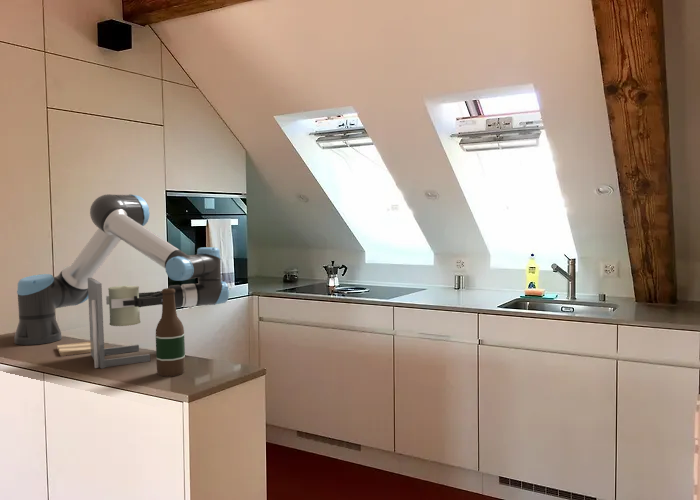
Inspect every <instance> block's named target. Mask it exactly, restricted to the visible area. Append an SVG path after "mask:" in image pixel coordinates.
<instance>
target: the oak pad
mask: <svg viewBox="0 0 700 500" xmlns="http://www.w3.org/2000/svg"><path fill="white" fill-rule="evenodd" d="M56 348H57V352H58V353H59V355H60V357H65V356H66V355H67V356H74V355H73V354H75V355H82V354H89V353H90V354H91V345H90V341H84V342H81V341H80V342H73V343H66V344H65V343H64V344H57V345H56Z"/></svg>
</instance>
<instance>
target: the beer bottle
mask: <svg viewBox="0 0 700 500" xmlns="http://www.w3.org/2000/svg"><path fill="white" fill-rule="evenodd" d="M161 291H162V294H163V301H162V305H161V306H162V308H161V309H162V311H161V318H160V319H159V321H158V323H157V325H156V328H155V354H156V358H155V359H156V370H157V371H156V373H157V375H158V376H161V377H165V378H166V377H176V376H180V375H183V374H184V373H185V372H186V349H185V348H186V347H185V345H186V344H185V328H184V325H183V323H182V321H181V319H180V318H179V317H178V313H177V308H176V305H175V295H174V293H175V289H173V288H168V287H166V288H163V289H161Z"/></svg>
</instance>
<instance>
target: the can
mask: <svg viewBox="0 0 700 500" xmlns="http://www.w3.org/2000/svg"><path fill="white" fill-rule="evenodd" d="M107 290H108V296H109V307H108V309H109V325H110V326H112V327H127V326H135V325H139V324H141V317H140V307H138V306H137V307H135V306H134V307H123V308H111V299H123V298H134V296H137V298H139V293H140V287H139V286H138V285H116V286H111V287H108V288H107Z"/></svg>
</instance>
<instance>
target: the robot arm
mask: <svg viewBox="0 0 700 500" xmlns="http://www.w3.org/2000/svg"><path fill="white" fill-rule="evenodd" d="M89 216H90V219H91V221H92V223H93V224H94V225H95V226H96V227H97V230H96V231H95V232H94V234H93V235H92V236H91V238H90V239H89V241H88V242H87V243H86V245H85V246H84V248H83V249H82V250H81V251H80V253H79V254H78V255H77V257H76V258H75V260H74V261H72V263H71V265H67V266H65V267H63V268H62V270H61V271H60V272H59V273H58V275H56V276H54V275H53V274H50V273H43V274H37V275H36V274H35V275H29V276H25V277H22V278H21V279H19V280H18V282H17V290H16V294H17V305H18V307H17V308H18V324H17V327H16V330H15V334H14V340H13V341H14V344H15V345H20V346H29V345H30V346H32V345H43V344H49V343H53V342H54V343H55V342H57V341H61V340H62V331H61V328H60V326H59V324H58V322H57V319H56V309H59V308H66V307H67V308H68V307H72V306H78V305H79V304H83V303H85V302H86V301H87V300H88V278H93V277H94V276H95V275H96V273H97V272H98V270H99V269H100V268H101V266H102V265H103V263H104V262H105V261H106V260H107V258H108V257H109V256H110V255H111V254H112V252H113V251H114V250H115V248H116V247H117V246H118V244H119V243H120V242H121V241H123V242H124V243H126V244H127V245H129V246H130V247H132V248H133V249H134V250H136V251H137V252H140V253H141V254H142V255H144V256H145V257H147V258H149V259H150V260H152V261H154V262H155V263H156V264H158V265H159V266H161V267H162V268H164V269H165V272H166V274H167V276H168V279H170V280H172V281H179V282H181V281H182V282H184V281H187V280H191V279H196V278H197V282H198V283H183V284H181V285H180V284H174V285H173V284H171V285H169V286H168V287H167V288H173V289H175V293H174V295H175V305H176V309H180V308H182V307H183V308H186V307H188V308H189V309H192V308H193V307H201V306H215V305H220V304H225V303H227V301H229V296H230V290H229V285H228V283H227V282H226V281H222V277H221V276H222V273H221V271H222V270H221V267H222V266H221V260H222V259H221V252H220V248H219V247H216V246H214V247H212V246H211V247H210V246H209V247H205V246H204V247H198V248H197V250H196V251H197V252H196V254H187V253H185V252H183V251H182V250H180V249H179V248H177V247H176V246H174V245H173V244H171V243H170V242H168V241H166V239H164V238H162V237H160V236H159V235H157V234H155V233H154V232H153V231H151V230H150V229H148V228H146V227H145V226H146V224H147V223H148V222H149V220H150V207H149V204H148V203H147V201H146V200H145V198H143V197H142V196H140V195H135V194H131V193H130V194H103V195H100V196H98V197H97V198H95V200H94V201H93V202H92V204H91V205H90V208H89ZM105 300H106V301H105V302H106V305H109V295H106V296H105ZM162 301H163V294H162V290H160V291H159V290H158V291H149V292H139V298H137V296H134V298H123V299H111V308H123V307H134V306H135V307H137V306H138V307H139V308H143V307H151V306H162Z"/></svg>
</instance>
